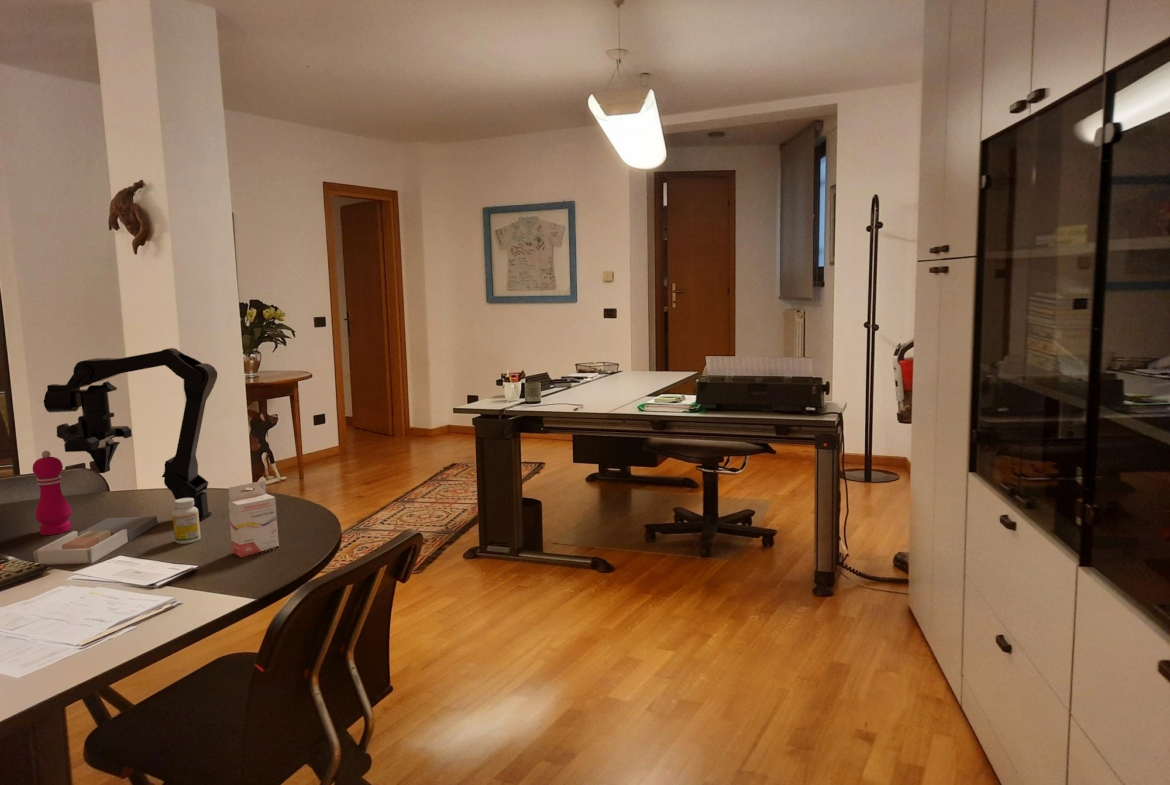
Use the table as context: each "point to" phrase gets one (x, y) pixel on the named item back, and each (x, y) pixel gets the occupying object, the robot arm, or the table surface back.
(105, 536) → the birch tile
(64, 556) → the box
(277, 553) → the table surface
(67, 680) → the table surface
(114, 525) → the board
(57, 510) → the pepper mill
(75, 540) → the terracotta tile
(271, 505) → the ink cartridge box
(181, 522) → the supplement bottle
